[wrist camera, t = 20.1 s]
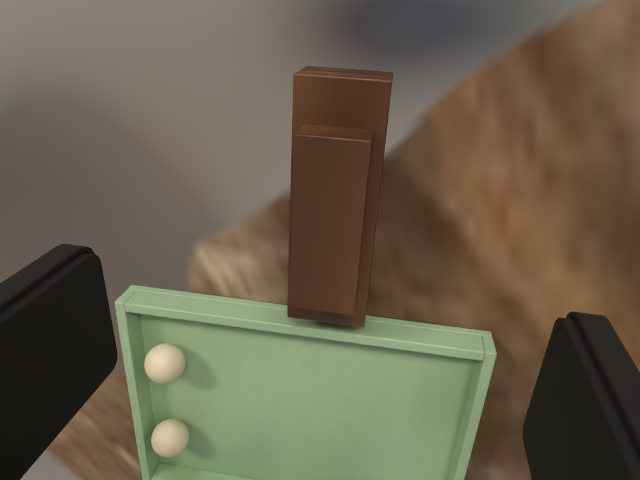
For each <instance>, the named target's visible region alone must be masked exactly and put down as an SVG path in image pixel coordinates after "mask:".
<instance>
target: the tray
mask: <svg viewBox="0 0 640 480" xmlns="http://www.w3.org/2000/svg"><path fill="white" fill-rule="evenodd" d="M115 308H116V314H117V321H118V328H119V334H120V340H121V347H122V353H123V359H124V366H125V372H126V379H127V385H128V391H129V398H130V404H131V410H132V417H133V423H134V430H135V436H136V442H137V449H138V455H139V461H140V468H141V474H142V480H464V479H465V475H466V471H467V467H468V463H469V459H470V456H471V452H472V448H473V444H474V440H475V436H476V433H477V429H478V425H479V421H480V417H481V413H482V410H483V406H484V402H485V398H486V394H487V390H488V386H489V383H490V379H491V375H492V371H493V367H494V363H495V360H496V356H497V353H496V349H495V345H494V342H493V338H492V334H491V332H489V331H481V330H474V329H466V328H459V327H451V326H443V325H436V324H428V323H420V322H413V321H405V320H397V319H390V318H382V317H374V316H367V315H366V318H365V326H364V327H357V326H349V325H342V324H335V323H327V322H320V321H312V320H305V319H297V318H290V317H287V305H282V304H275V303H267V302H259V301H252V300H244V299H236V298H229V297H221V296H213V295H206V294H198V293H190V292H183V291H175V290H167V289H160V288H152V287H144V286H135V285H131V286H130V287H129V288H128V290H126V291H125V292H124V293H123V294H122V295H121V296H120V297H119V298H118V299H117V300H116V301H115ZM162 343H171V344H174V345H176V346H178V347H179V348H180V349H181V350H182V351H183V353H184V355H185V358H186V365H185V369H184V371H183V373H182V375H181V376H180V377H179V378H178V379H177V380H175V381H173V382H171V383H167V384H160V383H156V382H154V381H152V380H151V379H150V378H149V377H148V376H147V374H146V372H145V368H144V362H145V358H146V356H147V354H148V352H149V351H150V350H151V349H152V348H153V347H155V346H156V345H159V344H162ZM167 419H177V420H180V421H181V422H183V423H184V424H185V425H186V427H187V429H188V432H189V441H188V444H187V446H186V448H185V449H184V451H183V452H182V453H180V454H179V455H177V456H175V457H172V458H164V457H161V456H159V455H158V454H157V453H156V452H155V451H154V450H153V448H152V444H151V437H152V433H153V431H154V429H155V428H156V426H157V425H158V424H159V423H161V422H162V421H164V420H167Z"/></svg>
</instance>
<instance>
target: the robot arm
mask: <svg viewBox="0 0 640 480" xmlns="http://www.w3.org/2000/svg"><path fill="white" fill-rule="evenodd" d="M116 362H117V348H116V343H115V337H114V332H113V326H112V320H111V315H110V309H109V304H108V298H107V293H106V287H105V282H104V277H103V271H102V265H101V261H100V258H99V257H98V256H97V255H95V254H94V252H93V250H92V249H91V248H89V247H84V246H77V245H69V244H61V245H58V246H56V247H55V248H53V249H52V250H50V251H49V252H47V253H46V254H44V255H43V256H41V257H40V258H38V259H37V260H35V261H34V262H32V263H31V264H29V265H28V266H26V267H25V268H23V269H22V270H20V271H19V272H17V273H15V274H14V275H12V276H11V277H9V278H8V279H6V280H5V281H3V282H2V283H0V480H20V479H21V478H22V477H23V475H24V474H25V473H26V472H27V471H28V469H29V468H30V467H31V466H32V465H33V464H34V462H35V461H36V460H37V459H38V458H39V456H40V455H41V454H42V453H43V452H44V451H45V449H46V448H47V447H48V446H49V445H50V444H51V442H52V441H53V440H54V439H55V438H56V436H57V435H58V434H59V433H60V432H61V431H62V429H63V428H64V427H65V426H66V425H67V424H68V422H69V421H70V420H71V419H72V418H73V416H74V415H75V414H76V413H77V412H78V411H79V409H80V408H81V407H82V406H83V405H84V404H85V402H86V401H87V400H88V399H89V398H90V396H91V395H92V394H93V393H94V392H95V391H96V389H97V388H98V387H99V386H100V385H101V384H102V382H103V381H104V380H105V379H106V378H107V376H108V375H109V374H110V373H111V372H112V370H113V369H114V367H115V365H116ZM523 442H524V447H525V451H526V455H527V460H528V464H529V468H530V473H531V477H532V480H640V373H639V371H638V369H637V367H636V366H635V364H634V362H633V361H632V359H631V357H630V356H629V354H628V352H627V351H626V349H625V347H624V345H623V344H622V342H621V340H620V339H619V337H618V335H617V334H616V332H615V330H614V329H613V327H612V325H611V323H610V322H609V320H608V319H607V318H606V317H605V316H602V315H594V314H587V313H579V312H570V313H569V314H568V315H567V317H566V318H558V319H557V320H556V321H555V324H554V327H553V330H552V333H551V337H550V340H549V343H548V346H547V349H546V353H545V356H544V359H543V362H542V366H541V369H540V372H539V375H538V378H537V382H536V385H535V388H534V391H533V395H532V398H531V401H530V404H529V407H528V411H527V414H526V417H525V420H524V424H523Z"/></svg>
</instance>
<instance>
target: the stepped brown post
mask: <svg viewBox="0 0 640 480" xmlns="http://www.w3.org/2000/svg"><path fill="white" fill-rule="evenodd" d="M392 78H393V73H392V72H381V71H367V70H354V69H339V68H326V67H311V66H307V67H305V68H303V69H301V70H300V71H298V72H296V73H295V74H294V84H293V87H294V88H293V119H292V120H293V121H292V156H291V192H290V229H289V266H288V303H287V317H290V318H297V319H305V320H312V321H320V322H327V323H335V324H342V325H349V326H357V327H364V326H365V318H366V310H367V302H368V294H369V285H370V276H371V267H372V258H373V249H374V240H375V231H376V222H377V213H378V204H379V195H380V186H381V177H382V168H383V159H384V150H385V141H386V132H387V123H388V114H389V105H390V96H391V87H392Z"/></svg>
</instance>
